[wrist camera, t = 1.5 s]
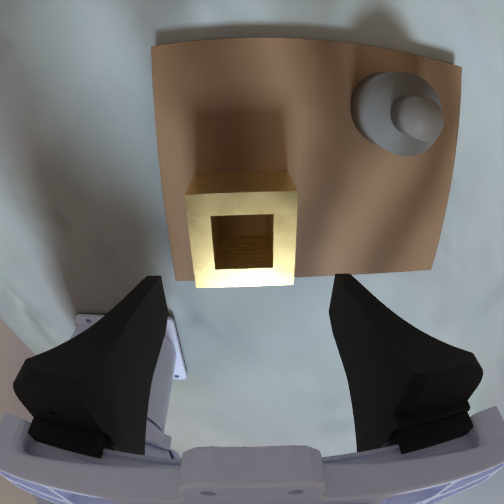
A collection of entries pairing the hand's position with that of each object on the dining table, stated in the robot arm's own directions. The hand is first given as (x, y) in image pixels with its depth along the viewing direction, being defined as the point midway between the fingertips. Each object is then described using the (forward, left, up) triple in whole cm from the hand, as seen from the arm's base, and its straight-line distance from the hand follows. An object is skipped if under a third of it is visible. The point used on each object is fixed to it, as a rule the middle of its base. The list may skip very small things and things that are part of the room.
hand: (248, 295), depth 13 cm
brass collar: (0, 0, -9) cm, 9 cm away
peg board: (+5, +3, -10) cm, 11 cm away
